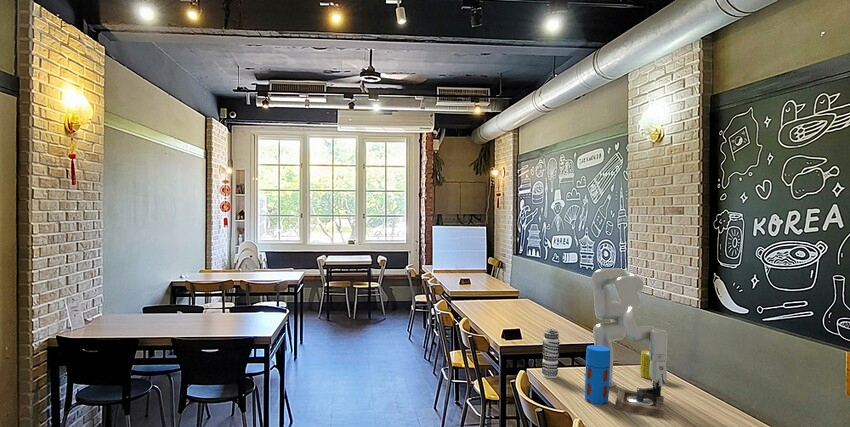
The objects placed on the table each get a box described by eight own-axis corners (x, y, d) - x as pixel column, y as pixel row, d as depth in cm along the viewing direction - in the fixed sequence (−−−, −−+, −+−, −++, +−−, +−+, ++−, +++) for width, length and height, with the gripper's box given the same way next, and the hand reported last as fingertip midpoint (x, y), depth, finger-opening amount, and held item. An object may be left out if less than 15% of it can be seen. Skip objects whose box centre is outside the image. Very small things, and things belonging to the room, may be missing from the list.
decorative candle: (561, 375, 292) (563, 329, 291) (553, 379, 285) (555, 332, 284) (546, 371, 298) (548, 326, 297) (537, 375, 291) (539, 329, 290)
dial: (637, 408, 243) (638, 394, 243) (621, 399, 254) (621, 385, 254) (666, 405, 248) (667, 392, 248) (649, 396, 259) (650, 383, 259)
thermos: (596, 406, 248) (598, 352, 248) (579, 398, 258) (581, 346, 257) (613, 402, 253) (615, 349, 253) (596, 395, 263) (598, 344, 262)
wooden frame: (615, 409, 245) (615, 401, 245) (618, 395, 264) (618, 388, 264) (663, 417, 237) (663, 410, 237) (663, 402, 256) (663, 395, 256)
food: (657, 378, 297) (656, 384, 288) (635, 370, 302) (633, 376, 293) (665, 353, 295) (664, 358, 286) (643, 345, 300) (641, 350, 291)
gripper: (672, 361, 241) (670, 402, 242) (660, 352, 256) (659, 391, 257) (655, 360, 242) (653, 401, 242) (644, 351, 257) (642, 390, 257)
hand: (656, 396), depth 249 cm, fingers closed
